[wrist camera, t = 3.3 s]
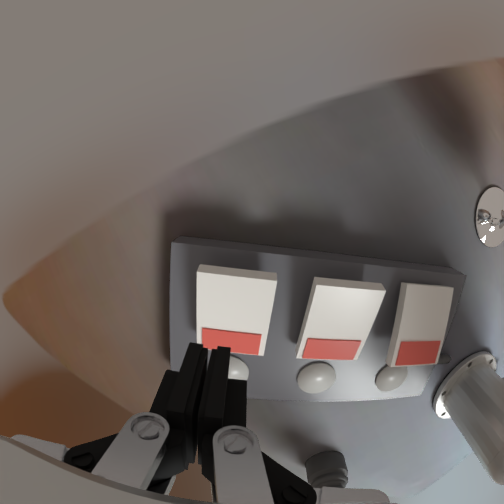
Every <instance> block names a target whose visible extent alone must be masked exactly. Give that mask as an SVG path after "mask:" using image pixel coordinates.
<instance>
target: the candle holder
mask: <svg viewBox="0 0 504 504" xmlns="http://www.w3.org/2000/svg"><path fill="white" fill-rule="evenodd" d="M306 472H307V479H308V483H309V484H311V486H312V487H313V488H320V489H321V488H322V487H323V486H324V487H335V488H345V486H346V484H347V483H348V477H347V473H348V470H347V466H346V463H345V459H344V456H343V455H342V454H341V453H339V452H336V451H328V452H323V453H319V454H317V455H314V456H312V457H311V458H310V459H308V460H307V462H306Z"/></svg>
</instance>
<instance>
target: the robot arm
mask: <svg viewBox="0 0 504 504" xmlns="http://www.w3.org/2000/svg"><path fill="white" fill-rule="evenodd" d="M230 353H231V347H223V346H218V347H217V349H212V351H211V355H210V360H209V364H208V369H207V363H208V348H203V344H199V343H192V342H190V343H189V345H188V348H187V351H186V354H185V356H184V359H183V362H182V365H181V368H180V371H179V372H178V371H172V370H167V371H166V372H165V375H164V377H163V379H162V382H161V384H160V387H159V389H158V392H157V394H156V397H155V399H154V402H153V404H152V407H151V409H150V412H143V413H138V414H136V415H134V416H132V417H131V418H130V419H129V420H128V421H127V422H126V424H125V425H124V427H123V428H122V430H121V431H120V432H119V433H117V434H114V435H111V436H108V437H105V438H102V439H99V440H95V441H92V442H88V443H85V444H81V445H78V446H75V447H72V448H71V449H69V448H66V446H65V445H61V444H56V443H52V442H48V441H44V440H40V439H36V438H32V437H29V436H25V435H15V436H13V437H11V438H7V437H5V436H1V435H0V504H397V503H390V502H389V499H388V496H387V495H386V494H385V493H384V492H382V491H380V490H375V489H350V488H335V487H324V486H323V487H322V488H321V489H320V488H313V487H312V486H311V485H309V484H308V483H307V482H305V481H304V480H302V479H301V478H299V477H297V476H296V475H294V474H293V473H291V472H290V471H288V470H287V469H286V468H284V467H283V466H281V465H280V464H278V463H277V462H276V461H274V460H273V459H271V458H270V457H269V456H267V455H266V454H265V453H263V452H262V451H261V449H260V444H259V440H258V438H257V436H256V435H255V434H254V433H253V431H251V430H249V429H248V428H246V404H247V380H239V379H229V378H228V374H229V364H230ZM495 371H496V360H495V358H494V357H493V355H492V354H490V353H489V352H486V351H482V352H478V353H475V354H473V355H471V356H469V357H467V358H466V359H465V360H463V361H462V362H461V363H459V364H458V365H457V366H456V367H455V368H454V369H453V370H452V371H451V372H450V373H449V374H448V376H447V377H446V378H445V379H444V381H443V382H442V384H441V385H440V387H439V389H438V391H437V393H436V395H435V398H434V402H433V409H434V411H435V413H436V414H437V416H438V417H440V418H444V419H445V418H452V420H453V421H454V423H455V424H456V426H457V427H458V429H459V430H460V432H461V433H462V435H463V436H464V438H465V439H466V441H467V442H468V444H469V445H470V447H471V448H472V450H473V452H474V453H475V455H476V456H477V458H478V459H479V461H480V463H481V464H482V466H483V467H484V469H485V471H486V472H487V474H488V475H489V477H490V478H491V479H492V480H493V481H494V482H495V483H497V484H501V485H504V378H501V377H500V376H499V375H498V374H497V373H496V372H495ZM197 445H198V464H201V465H202V474H203V475H204V476H205V477H206V478H207V479H208V480H209V481H210V482H211V491H212V501H213V503H212V502H204V501H197V500H190V499H184V498H179V497H173V496H168V494H169V492H170V490H171V488H172V485H173V483H174V481H175V477H176V474H179V473H181V472H183V471H184V469H186V470H188V465H189V463H194V462H195V456H196V451H197Z"/></svg>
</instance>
